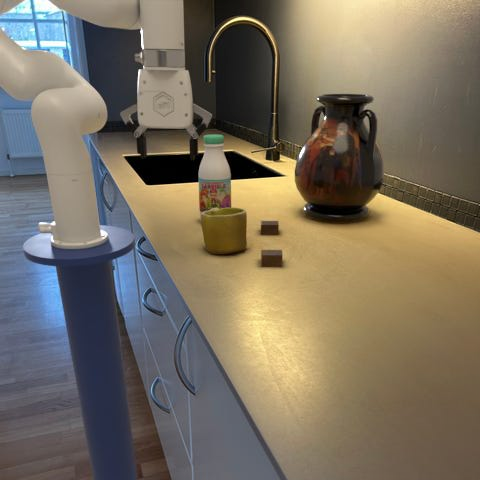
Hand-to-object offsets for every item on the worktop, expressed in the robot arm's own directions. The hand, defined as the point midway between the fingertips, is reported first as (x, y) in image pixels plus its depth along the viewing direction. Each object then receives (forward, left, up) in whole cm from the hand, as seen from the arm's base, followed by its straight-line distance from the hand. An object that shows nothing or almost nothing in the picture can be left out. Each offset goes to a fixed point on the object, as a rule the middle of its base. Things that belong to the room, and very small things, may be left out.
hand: (168, 158), depth 101 cm
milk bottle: (+8, +19, -18) cm, 27 cm away
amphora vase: (+38, +25, -18) cm, 49 cm away
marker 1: (+21, +10, -18) cm, 29 cm away
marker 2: (+21, -10, -18) cm, 29 cm away
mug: (+11, 0, -18) cm, 21 cm away
